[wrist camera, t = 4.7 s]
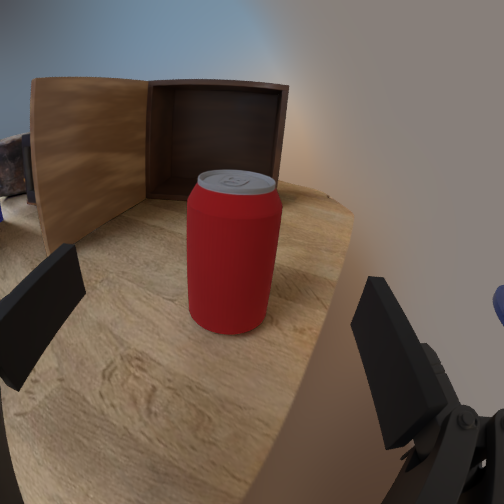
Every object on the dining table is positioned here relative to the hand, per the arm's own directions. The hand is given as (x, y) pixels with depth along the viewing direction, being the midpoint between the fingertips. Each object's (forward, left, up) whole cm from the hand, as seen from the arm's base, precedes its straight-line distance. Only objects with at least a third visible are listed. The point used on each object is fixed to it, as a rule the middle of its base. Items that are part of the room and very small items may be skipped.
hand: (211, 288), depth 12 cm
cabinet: (+7, -46, -10) cm, 47 cm away
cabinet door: (+24, -26, -9) cm, 37 cm away
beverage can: (0, -10, -10) cm, 14 cm away
